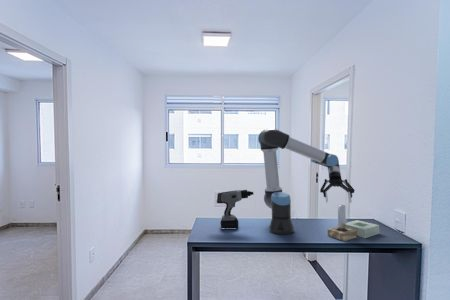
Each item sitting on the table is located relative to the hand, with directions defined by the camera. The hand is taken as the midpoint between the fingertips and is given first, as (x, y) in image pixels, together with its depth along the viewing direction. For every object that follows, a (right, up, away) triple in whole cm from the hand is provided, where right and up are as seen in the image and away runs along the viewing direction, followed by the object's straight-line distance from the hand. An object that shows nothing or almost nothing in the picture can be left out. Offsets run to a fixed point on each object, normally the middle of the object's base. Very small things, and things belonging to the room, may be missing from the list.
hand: (338, 201), depth 168 cm
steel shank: (-2, -19, -10) cm, 21 cm away
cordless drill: (-63, -20, +12) cm, 67 cm away
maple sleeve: (-2, -18, -10) cm, 21 cm away
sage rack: (+12, -18, -4) cm, 22 cm away
